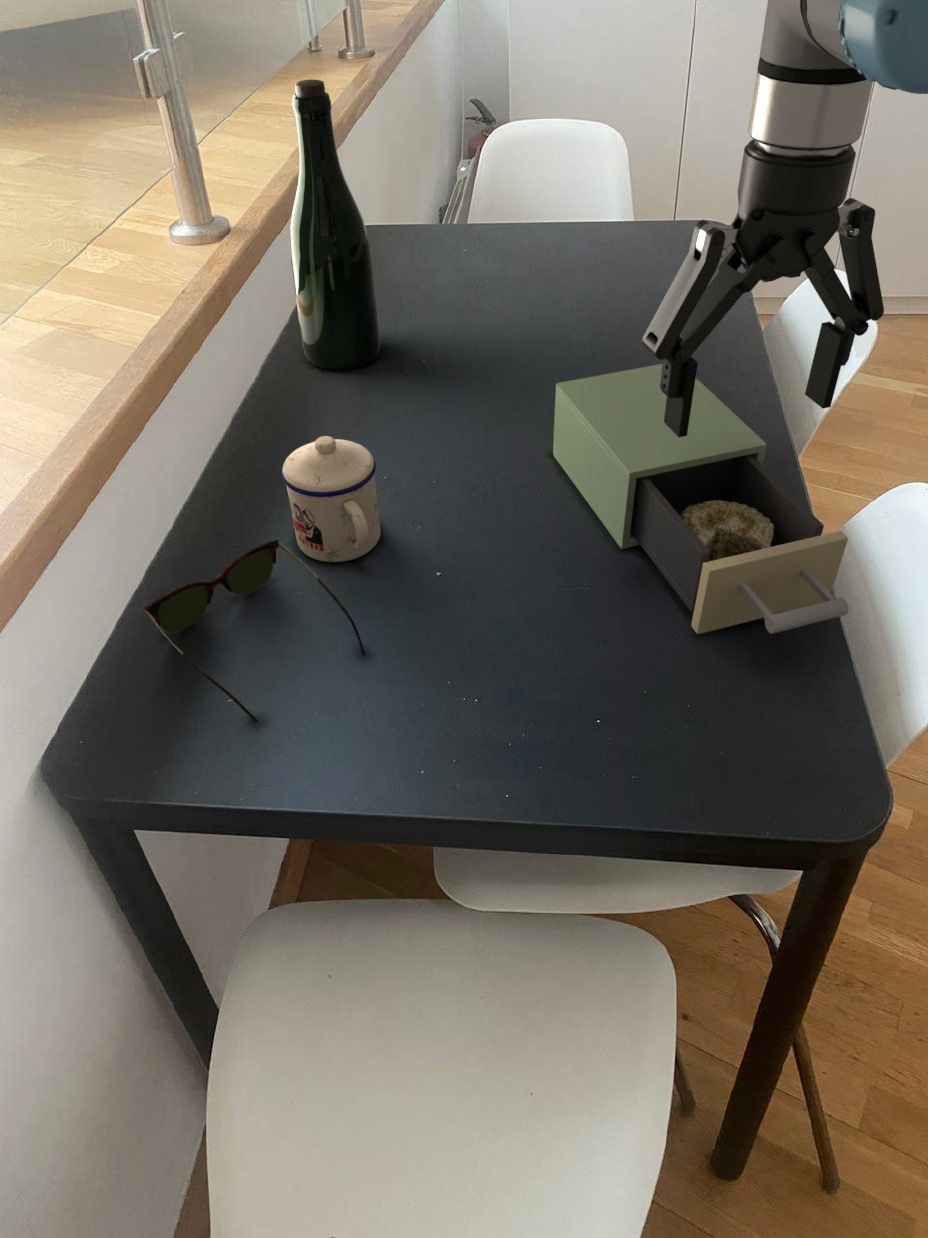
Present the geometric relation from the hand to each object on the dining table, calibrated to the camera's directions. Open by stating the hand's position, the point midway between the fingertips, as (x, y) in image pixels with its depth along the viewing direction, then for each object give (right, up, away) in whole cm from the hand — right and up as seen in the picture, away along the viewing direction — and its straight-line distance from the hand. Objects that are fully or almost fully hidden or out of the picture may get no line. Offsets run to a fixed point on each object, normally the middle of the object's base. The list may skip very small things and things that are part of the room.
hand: (747, 414), depth 78 cm
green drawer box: (-4, -3, +22) cm, 23 cm away
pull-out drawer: (+1, -14, +9) cm, 16 cm away
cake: (+1, -11, +10) cm, 15 cm away
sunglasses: (-42, -20, +5) cm, 47 cm away
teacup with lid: (-36, -10, +16) cm, 41 cm away
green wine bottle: (-41, +19, +48) cm, 66 cm away
